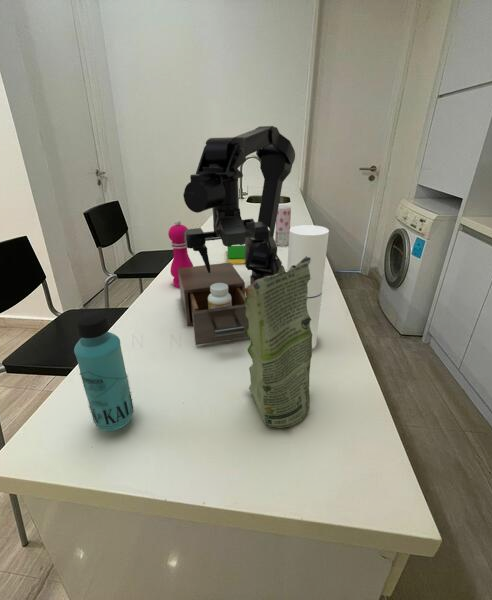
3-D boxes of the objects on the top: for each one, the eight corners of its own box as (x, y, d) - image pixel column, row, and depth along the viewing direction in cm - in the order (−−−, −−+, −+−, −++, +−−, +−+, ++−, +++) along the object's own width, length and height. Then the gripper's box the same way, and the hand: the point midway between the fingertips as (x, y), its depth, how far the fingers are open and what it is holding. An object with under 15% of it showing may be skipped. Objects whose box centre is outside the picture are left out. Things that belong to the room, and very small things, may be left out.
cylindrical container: (296, 355, 69) (306, 237, 57) (276, 338, 74) (281, 228, 63) (323, 345, 71) (337, 231, 60) (301, 329, 77) (311, 223, 66)
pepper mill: (191, 289, 99) (185, 222, 90) (168, 287, 101) (160, 222, 92) (197, 279, 106) (193, 216, 96) (176, 278, 107) (169, 216, 98)
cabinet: (245, 317, 83) (245, 282, 79) (187, 326, 80) (183, 290, 76) (231, 293, 96) (230, 262, 91) (181, 300, 93) (177, 268, 89)
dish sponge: (245, 251, 129) (245, 245, 128) (248, 263, 117) (248, 257, 116) (227, 251, 129) (227, 245, 128) (228, 264, 117) (227, 257, 116)
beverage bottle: (100, 410, 57) (72, 307, 48) (139, 406, 57) (119, 304, 48) (90, 441, 51) (56, 331, 42) (133, 437, 51) (109, 327, 42)
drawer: (261, 347, 70) (262, 315, 66) (198, 357, 67) (196, 325, 64) (239, 308, 86) (238, 280, 82) (187, 315, 83) (185, 287, 80)
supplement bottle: (227, 331, 74) (225, 293, 69) (205, 327, 76) (202, 289, 71) (235, 320, 78) (234, 283, 74) (214, 316, 80) (212, 280, 76)
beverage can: (291, 243, 136) (293, 206, 129) (285, 246, 132) (287, 208, 125) (278, 241, 139) (280, 204, 132) (272, 244, 135) (274, 207, 128)
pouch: (244, 430, 52) (244, 285, 40) (244, 379, 62) (243, 253, 51) (316, 431, 51) (336, 284, 40) (303, 379, 62) (316, 251, 50)
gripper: (187, 215, 62) (194, 289, 69) (280, 205, 65) (278, 277, 73) (180, 203, 72) (187, 270, 79) (262, 196, 75) (261, 260, 82)
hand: (228, 269), depth 78 cm, fingers open, 9 cm apart
